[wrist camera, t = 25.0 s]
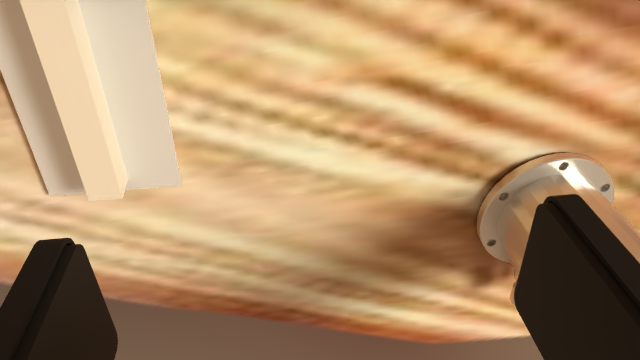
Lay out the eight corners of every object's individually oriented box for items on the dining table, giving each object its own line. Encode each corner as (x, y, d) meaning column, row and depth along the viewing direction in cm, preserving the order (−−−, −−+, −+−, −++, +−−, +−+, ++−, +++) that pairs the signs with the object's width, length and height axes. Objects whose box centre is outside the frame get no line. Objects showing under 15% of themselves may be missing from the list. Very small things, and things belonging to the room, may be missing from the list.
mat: (182, 182, 41) (181, 185, 41) (51, 193, 40) (49, 196, 40) (126, -99, 29) (125, -98, 29) (-61, -95, 28) (-64, -94, 28)
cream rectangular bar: (138, 178, 40) (130, 210, 37) (85, 182, 39) (71, 215, 36) (57, -129, 28) (34, -120, 25) (-21, -127, 27) (-55, -119, 24)
